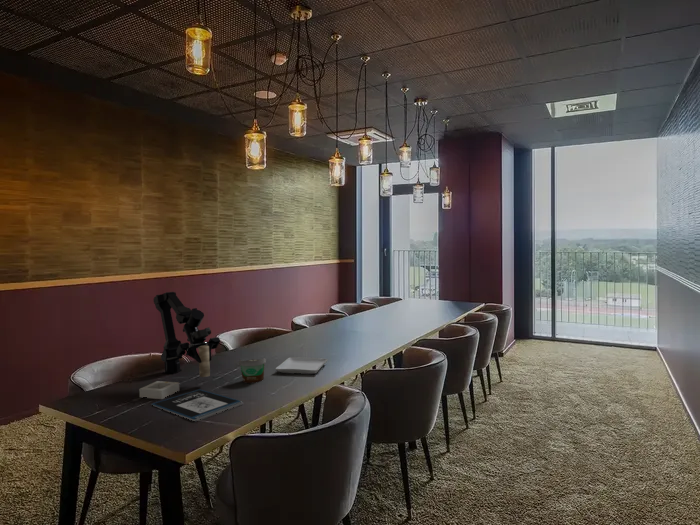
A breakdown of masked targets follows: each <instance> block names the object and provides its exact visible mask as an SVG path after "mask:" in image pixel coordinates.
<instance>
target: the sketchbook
mask: <svg viewBox="0 0 700 525" xmlns="http://www.w3.org/2000/svg"><path fill="white" fill-rule="evenodd" d="M152 405H153V407H155V408H158V409H160V410H162V409H163V410H162V411H165V412H168V413H170V412H171V413H170V414H174V415H175V414H176V416H178V415H179V416H178V417H180V418H183V417H184V419H186V418H187V419H186V420H188V419H189V421H191V420H192V421H191V422H193V421H195V422H197V421H198V422H199V421H200V419H201V421H203V420H204V419H207V418H210V417H214V416H216V415H218V414H221V413H223V412H224V411H225V410H227V409H228V410H227V411H229V410H230V409H231V410H232V409H235V408H238V407H240V406H241V405H242V406H244V401H242V400H239V399H236V398H231V397H228V396H224V395H221V394H217V393H214V392H211V391H207V390H203V389H200V388H199V389H195V390H193V391H190V392H185V393H182V394H179V395H177V396H176V395H175V396H173V397H170V398H167V399H166V398H165V399H162V400H159V401H156V402H153V403H151V406H152ZM233 407H234V408H233ZM222 411H223V412H222ZM225 412H226V411H225ZM216 413H217V414H216Z"/></svg>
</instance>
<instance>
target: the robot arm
mask: <svg viewBox="0 0 700 525" xmlns="http://www.w3.org/2000/svg"><path fill="white" fill-rule="evenodd" d="M153 304H154V306H155V309H156V310H157V311H158V312H159V313H160V317H161V318H160V319H161V322H162V327H163V333H164V339H165V342H164V344H163V346H162V347H163V351H162V352H161V355H160V359H161V361H162V362H164V371H163V372H162V374H172V375H174V374H177V373H179V372H181V371H182V369H181V363H180V360H182V359H183V356H184V355H185V356H189V357H190V358H192V359H193V360H195V361H196V362H197V363H198V364H199V363H201V359H200V357H199V352H198V351H197V349H198V347H199V346H209V362H211V361H212V350H216V349H217V348H218V346H219V344H220V343H221V340H220V337H218V336H214V337H210V338H209V339H208V341H206V340H207V337H209V336H210V335H211V334H212V330H211V328H210V326H209V327H205V328H204V329H199V327H200V325H201V323H202V321H203V319H204V318H205V314H204V312H203V311H202V310H198V309H197V308H196V307H195V308H192V309H191V308H190V307H188V306H185V304H184V303H183V301H181V300H180V298H179V297H178V296H177V292H176V291H168V292H167V291H166V292H164V293H161V294H155V296H154V297H153ZM171 310H173V311H174V312H175V319H176V322H177V323H178V324H179V325H182V324H184V325H183V328H182V332H183V333H185V334H186V338H187V342H182V341H181V340H178V338H177V336H176V331H175V326H174V323H173V316H172V311H171Z"/></svg>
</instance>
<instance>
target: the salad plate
mask: <svg viewBox="0 0 700 525" xmlns="http://www.w3.org/2000/svg"><path fill="white" fill-rule="evenodd" d="M328 361H329V359H328V358H321V357H320V358H319V357H298V356H296V357H288V358H286V360H284V361H283V362H282V363H280V364H279V365H278V366H276V367H275V371H277V372H279V373H283V374H294V373H301V374H300V375H314V374H316V373H318V372H319V370H320V369H321V368H322V367H323V366H325V364H326V363H327V362H328Z"/></svg>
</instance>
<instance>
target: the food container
mask: <svg viewBox="0 0 700 525" xmlns="http://www.w3.org/2000/svg"><path fill="white" fill-rule="evenodd" d="M266 363H267V359H266V357H264V358H262V359H255V358H254V359H253V358H251V359H248V360H241V359H239V361H238V365H239V366H240V372H241V378H242V382H243V383H247V384H256V382H257V383H260V382H263V381H264V379H265V378H264V376H265V364H266ZM262 380H263V381H262Z"/></svg>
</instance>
